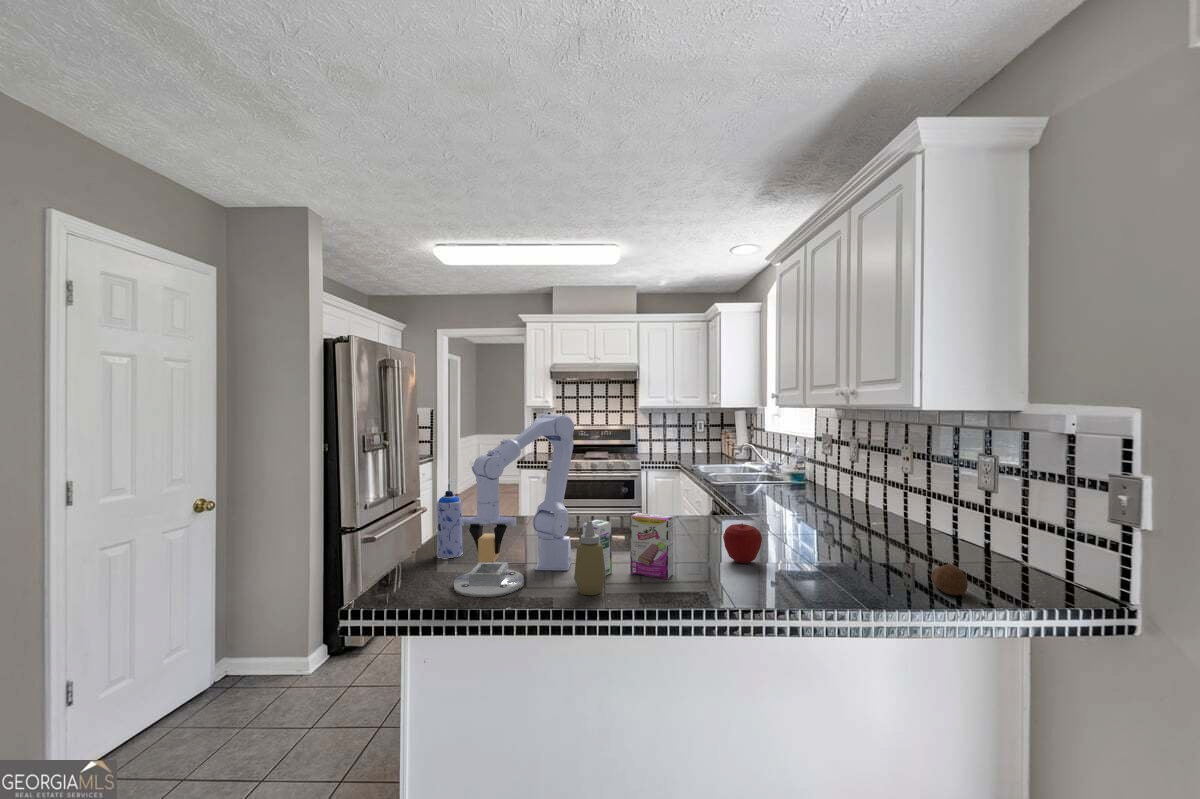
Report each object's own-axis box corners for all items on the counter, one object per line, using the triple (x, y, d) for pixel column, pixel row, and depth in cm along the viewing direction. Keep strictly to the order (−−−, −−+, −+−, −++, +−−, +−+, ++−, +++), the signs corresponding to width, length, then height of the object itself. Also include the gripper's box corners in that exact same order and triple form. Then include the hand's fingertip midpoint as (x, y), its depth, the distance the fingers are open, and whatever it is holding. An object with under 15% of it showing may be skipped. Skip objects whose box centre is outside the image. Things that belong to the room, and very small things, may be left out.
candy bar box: (629, 574, 159) (629, 515, 158) (636, 569, 163) (635, 512, 163) (668, 580, 154) (668, 519, 153) (674, 574, 158) (673, 515, 158)
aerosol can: (435, 553, 180) (434, 490, 180) (460, 550, 183) (459, 488, 183) (439, 560, 173) (438, 494, 172) (465, 557, 176) (464, 492, 176)
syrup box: (599, 578, 155) (599, 525, 155) (583, 574, 159) (582, 522, 159) (612, 573, 160) (611, 521, 160) (595, 569, 163) (595, 518, 163)
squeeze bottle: (582, 600, 140) (582, 526, 140) (569, 589, 147) (568, 519, 147) (611, 594, 144) (611, 522, 143) (597, 584, 151) (596, 516, 150)
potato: (948, 584, 149) (948, 557, 149) (978, 599, 138) (978, 570, 138) (922, 585, 148) (923, 558, 148) (950, 600, 138) (950, 571, 138)
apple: (720, 565, 166) (720, 525, 166) (726, 555, 176) (726, 517, 176) (759, 569, 162) (759, 528, 162) (764, 559, 172) (763, 520, 171)
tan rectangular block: (499, 555, 154) (498, 533, 154) (493, 562, 148) (493, 539, 148) (484, 555, 154) (484, 533, 154) (478, 562, 148) (478, 539, 148)
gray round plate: (529, 574, 159) (529, 558, 159) (516, 598, 142) (515, 580, 141) (465, 573, 161) (465, 557, 160) (444, 597, 143) (444, 579, 142)
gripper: (456, 504, 147) (457, 557, 147) (512, 504, 146) (512, 557, 146) (464, 499, 154) (465, 549, 154) (517, 499, 153) (518, 549, 153)
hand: (488, 552), depth 151 cm, fingers closed on tan rectangular block, 4 cm apart
